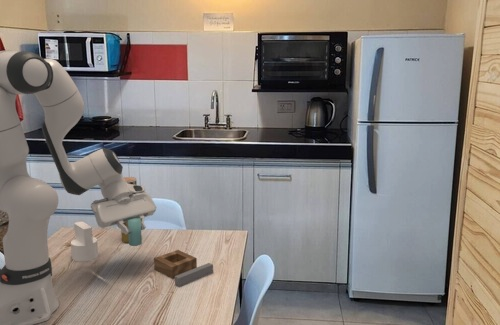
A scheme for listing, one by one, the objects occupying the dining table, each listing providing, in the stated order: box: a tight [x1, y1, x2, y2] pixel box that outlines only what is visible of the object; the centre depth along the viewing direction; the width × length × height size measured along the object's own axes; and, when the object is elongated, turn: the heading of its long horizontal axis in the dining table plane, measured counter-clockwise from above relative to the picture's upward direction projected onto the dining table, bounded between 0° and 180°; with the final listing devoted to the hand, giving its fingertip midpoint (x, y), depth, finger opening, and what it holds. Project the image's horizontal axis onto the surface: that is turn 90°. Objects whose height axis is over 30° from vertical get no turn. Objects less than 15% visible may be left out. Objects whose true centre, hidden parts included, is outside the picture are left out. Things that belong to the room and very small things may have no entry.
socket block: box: [153, 249, 198, 279], centre depth 156 cm, size 10×10×4 cm
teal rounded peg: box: [128, 218, 143, 247], centre depth 150 cm, size 4×4×8 cm
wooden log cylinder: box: [120, 176, 138, 244], centre depth 182 cm, size 7×7×25 cm
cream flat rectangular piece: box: [174, 262, 214, 288], centre depth 156 cm, size 14×20×4 cm
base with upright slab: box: [70, 221, 99, 263], centre depth 168 cm, size 9×9×12 cm
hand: (135, 231), depth 149 cm, fingers closed on teal rounded peg, 4 cm apart
